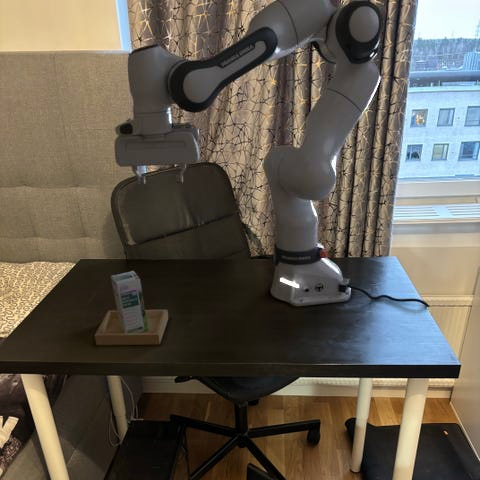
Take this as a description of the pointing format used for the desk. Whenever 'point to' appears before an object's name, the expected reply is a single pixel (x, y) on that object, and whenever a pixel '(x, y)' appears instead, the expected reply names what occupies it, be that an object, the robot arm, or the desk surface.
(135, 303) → the syrup box
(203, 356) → the desk surface
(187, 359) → the desk surface
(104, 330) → the tray
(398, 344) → the desk surface
